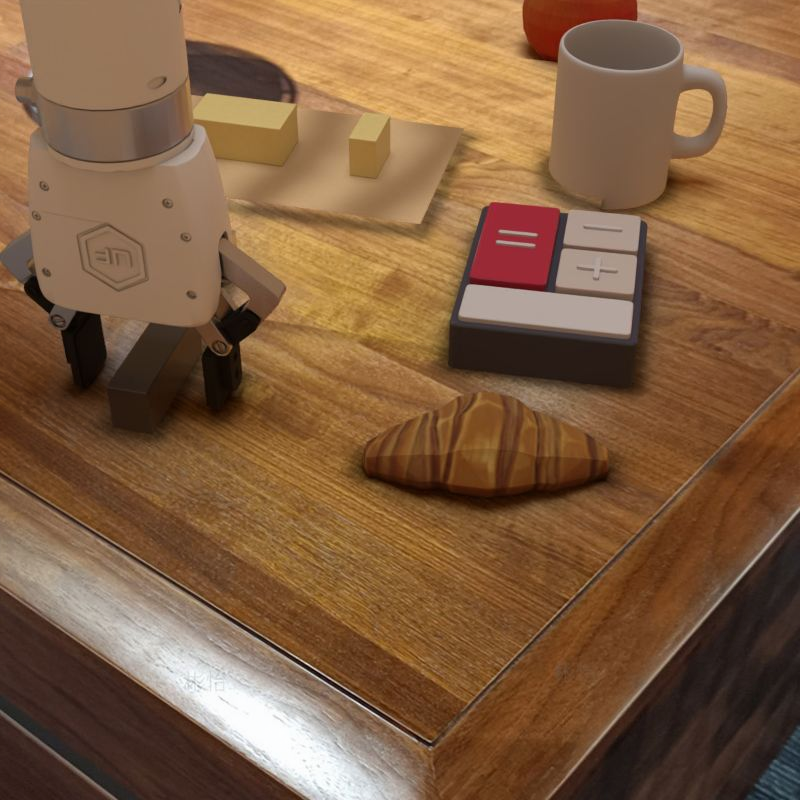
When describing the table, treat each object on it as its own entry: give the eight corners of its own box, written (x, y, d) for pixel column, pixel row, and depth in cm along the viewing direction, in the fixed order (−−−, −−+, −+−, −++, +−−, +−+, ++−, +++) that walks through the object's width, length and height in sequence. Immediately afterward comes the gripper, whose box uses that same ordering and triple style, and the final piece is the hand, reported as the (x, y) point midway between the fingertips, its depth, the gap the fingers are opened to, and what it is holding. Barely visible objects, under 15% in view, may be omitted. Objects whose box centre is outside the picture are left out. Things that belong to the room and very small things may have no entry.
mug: (548, 215, 95) (560, 70, 88) (545, 155, 102) (556, 16, 95) (720, 220, 95) (746, 75, 88) (705, 160, 101) (728, 20, 94)
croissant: (601, 437, 77) (610, 367, 74) (614, 520, 72) (624, 450, 69) (364, 433, 77) (362, 364, 74) (359, 517, 72) (357, 446, 69)
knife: (153, 442, 76) (145, 393, 74) (114, 436, 77) (105, 386, 75) (253, 278, 89) (249, 232, 87) (218, 273, 90) (214, 226, 87)
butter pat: (349, 175, 97) (348, 137, 95) (364, 148, 100) (363, 111, 98) (376, 179, 96) (376, 141, 94) (390, 152, 99) (390, 115, 97)
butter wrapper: (121, 200, 97) (118, 182, 96) (192, 111, 107) (190, 94, 106) (420, 242, 93) (420, 223, 92) (463, 145, 103) (464, 127, 102)
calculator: (649, 209, 89) (639, 334, 77) (641, 266, 91) (631, 395, 80) (483, 193, 90) (448, 313, 79) (480, 249, 93) (446, 373, 81)
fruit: (637, 41, 117) (651, -74, 111) (626, 90, 110) (640, -30, 104) (528, 30, 119) (535, -84, 113) (510, 78, 112) (517, -41, 106)
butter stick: (190, 154, 99) (186, 117, 97) (210, 129, 102) (206, 92, 100) (282, 166, 98) (279, 129, 96) (298, 140, 101) (296, 103, 99)
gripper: (-78, 124, 67) (-10, 400, 78) (257, 168, 63) (277, 450, 75) (-6, 59, 72) (47, 325, 84) (305, 97, 69) (317, 368, 80)
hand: (156, 382), depth 79 cm, fingers open, 7 cm apart
